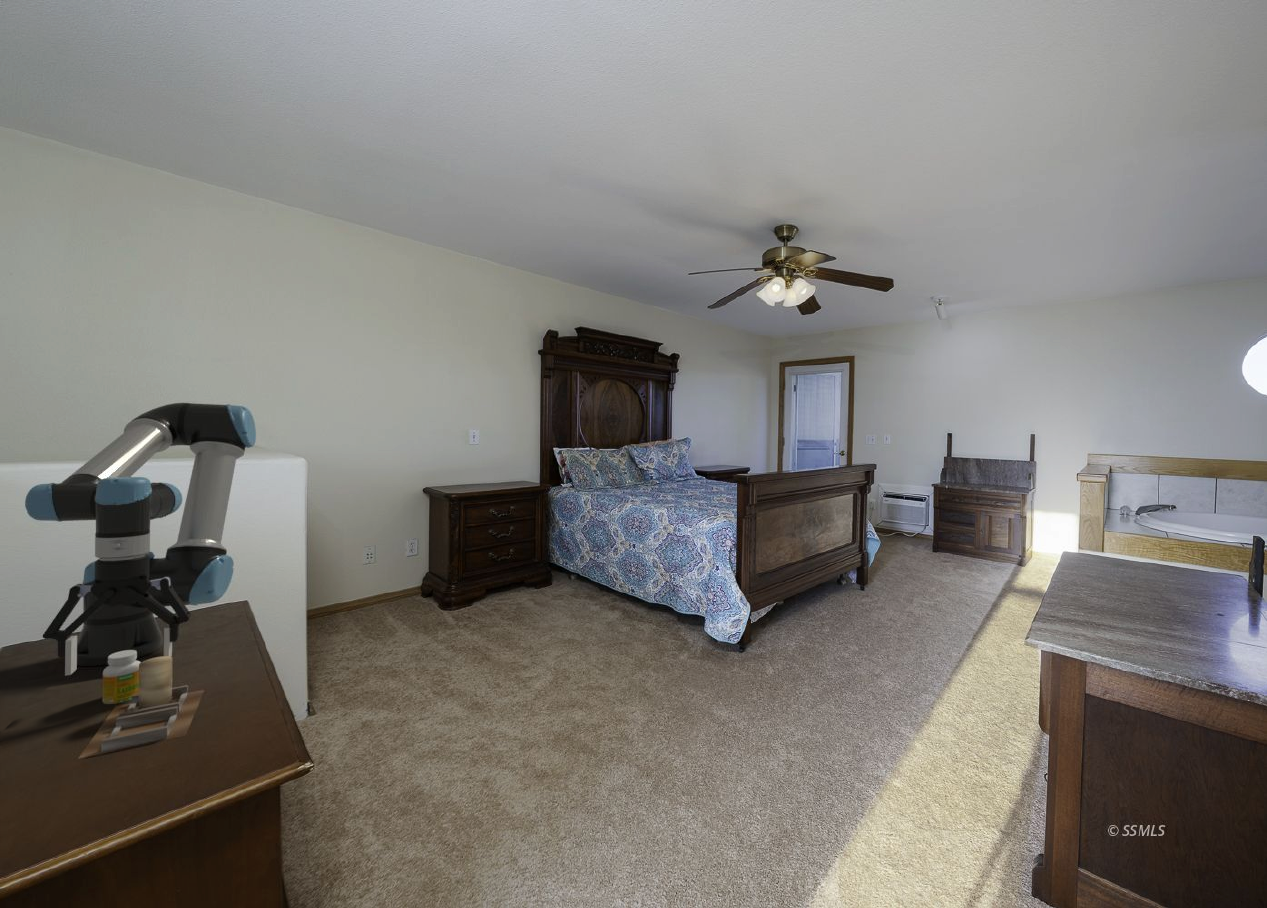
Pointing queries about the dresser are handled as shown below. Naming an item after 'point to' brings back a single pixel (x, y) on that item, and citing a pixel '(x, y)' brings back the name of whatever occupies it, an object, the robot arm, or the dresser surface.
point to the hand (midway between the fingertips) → (121, 665)
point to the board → (145, 723)
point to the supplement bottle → (121, 677)
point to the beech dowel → (155, 682)
